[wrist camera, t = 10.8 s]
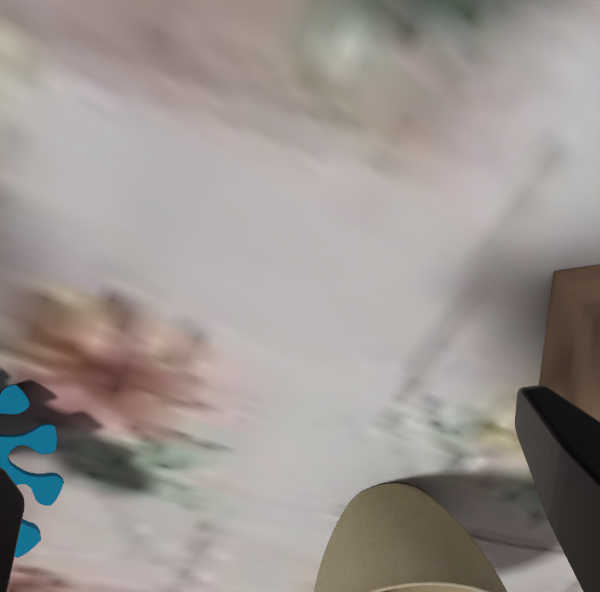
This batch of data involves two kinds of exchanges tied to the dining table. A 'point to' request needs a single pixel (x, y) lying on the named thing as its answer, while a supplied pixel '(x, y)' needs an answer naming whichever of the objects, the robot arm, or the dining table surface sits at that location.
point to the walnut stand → (574, 338)
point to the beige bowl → (402, 547)
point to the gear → (41, 484)
